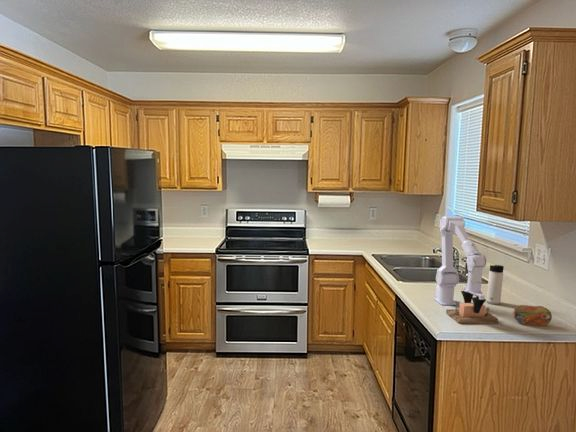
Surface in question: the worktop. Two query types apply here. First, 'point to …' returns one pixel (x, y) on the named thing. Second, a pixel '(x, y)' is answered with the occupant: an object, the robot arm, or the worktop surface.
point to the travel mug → (495, 284)
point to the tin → (532, 315)
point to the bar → (470, 310)
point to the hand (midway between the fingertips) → (471, 309)
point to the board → (468, 320)
